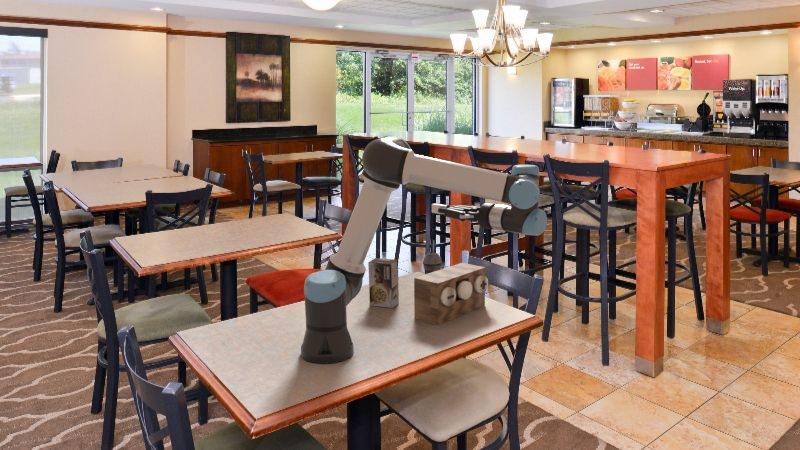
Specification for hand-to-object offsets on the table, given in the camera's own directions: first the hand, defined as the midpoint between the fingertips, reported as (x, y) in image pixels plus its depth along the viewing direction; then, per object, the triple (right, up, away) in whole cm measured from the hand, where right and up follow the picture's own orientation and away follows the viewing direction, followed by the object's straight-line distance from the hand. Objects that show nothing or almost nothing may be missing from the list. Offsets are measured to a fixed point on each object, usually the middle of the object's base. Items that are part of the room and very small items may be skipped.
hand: (433, 208), depth 203 cm
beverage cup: (+2, -31, +40) cm, 50 cm away
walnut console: (+8, -35, +17) cm, 40 cm away
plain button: (+11, -30, +13) cm, 34 cm away
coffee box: (-16, -34, +27) cm, 46 cm away
